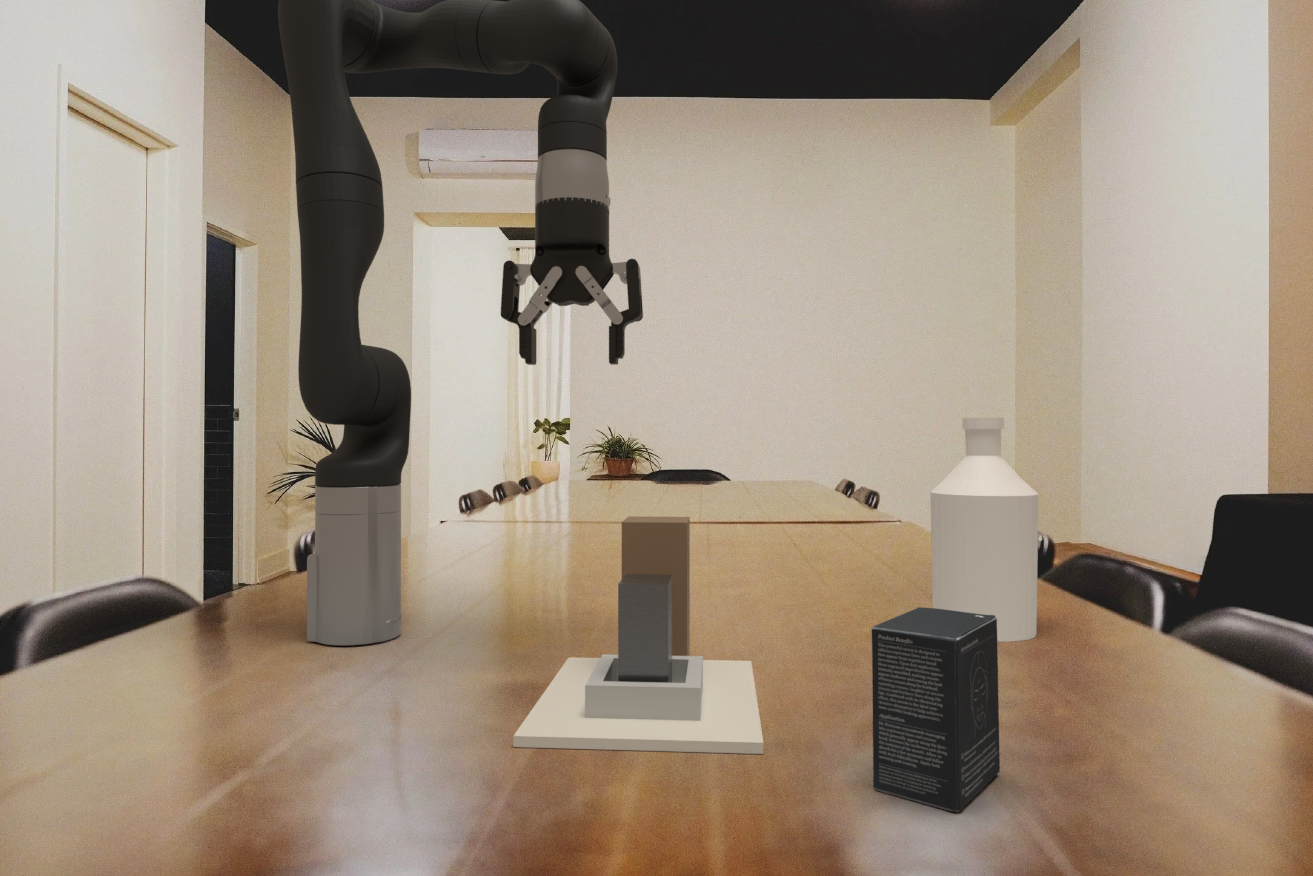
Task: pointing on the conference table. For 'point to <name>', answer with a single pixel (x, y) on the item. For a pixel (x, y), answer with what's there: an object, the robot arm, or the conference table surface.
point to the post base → (651, 713)
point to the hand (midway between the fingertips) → (572, 364)
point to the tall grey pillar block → (645, 628)
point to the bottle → (986, 536)
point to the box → (935, 706)
